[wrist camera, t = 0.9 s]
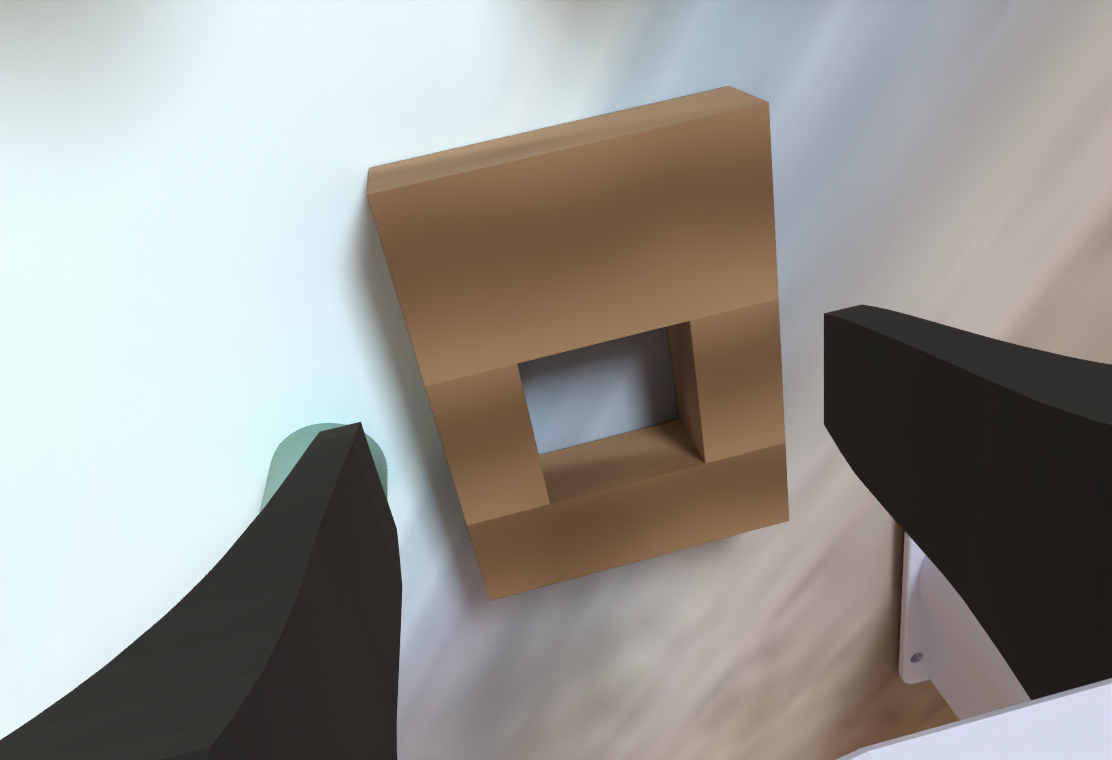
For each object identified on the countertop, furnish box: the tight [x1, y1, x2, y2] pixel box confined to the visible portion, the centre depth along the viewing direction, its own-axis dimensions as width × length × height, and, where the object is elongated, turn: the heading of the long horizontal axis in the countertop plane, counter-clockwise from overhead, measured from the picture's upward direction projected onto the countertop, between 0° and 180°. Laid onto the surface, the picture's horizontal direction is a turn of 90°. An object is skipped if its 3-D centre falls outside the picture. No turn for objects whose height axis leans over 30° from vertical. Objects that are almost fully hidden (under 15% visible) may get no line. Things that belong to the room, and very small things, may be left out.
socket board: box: [367, 86, 789, 601], centre depth 22 cm, size 12×9×2 cm
